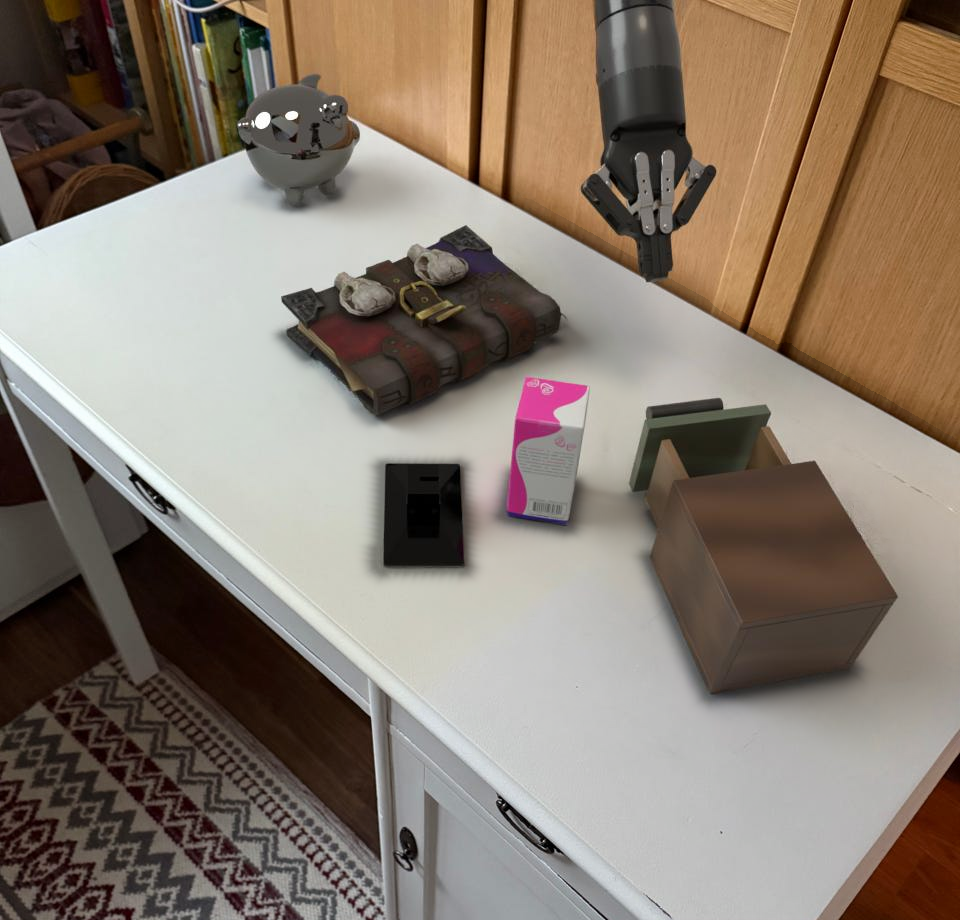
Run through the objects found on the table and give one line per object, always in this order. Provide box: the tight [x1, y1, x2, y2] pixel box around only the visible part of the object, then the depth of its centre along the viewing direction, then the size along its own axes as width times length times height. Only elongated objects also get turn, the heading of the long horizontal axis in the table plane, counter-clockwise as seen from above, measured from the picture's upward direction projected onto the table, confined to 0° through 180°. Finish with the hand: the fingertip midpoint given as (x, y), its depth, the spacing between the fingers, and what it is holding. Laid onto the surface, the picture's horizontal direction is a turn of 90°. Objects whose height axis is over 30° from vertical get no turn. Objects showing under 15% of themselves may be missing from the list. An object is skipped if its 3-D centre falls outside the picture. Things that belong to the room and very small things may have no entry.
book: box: [280, 224, 568, 416], centre depth 97 cm, size 26×18×7 cm
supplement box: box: [506, 376, 591, 526], centre depth 82 cm, size 6×6×12 cm
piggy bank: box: [235, 73, 361, 207], centre depth 111 cm, size 11×15×12 cm
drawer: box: [628, 397, 792, 528], centre depth 83 cm, size 18×11×8 cm, turn 13°
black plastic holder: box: [379, 462, 465, 568], centre depth 83 cm, size 12×7×5 cm, turn 3°
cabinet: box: [649, 460, 899, 694], centre depth 77 cm, size 15×13×10 cm
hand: (657, 279), depth 88 cm, fingers closed
